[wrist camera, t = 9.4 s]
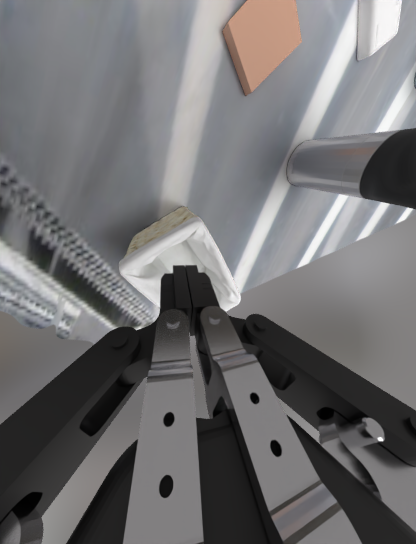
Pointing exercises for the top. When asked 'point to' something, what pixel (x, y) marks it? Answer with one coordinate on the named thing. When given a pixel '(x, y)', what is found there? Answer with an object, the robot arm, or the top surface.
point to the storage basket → (177, 257)
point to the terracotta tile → (261, 38)
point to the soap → (376, 25)
